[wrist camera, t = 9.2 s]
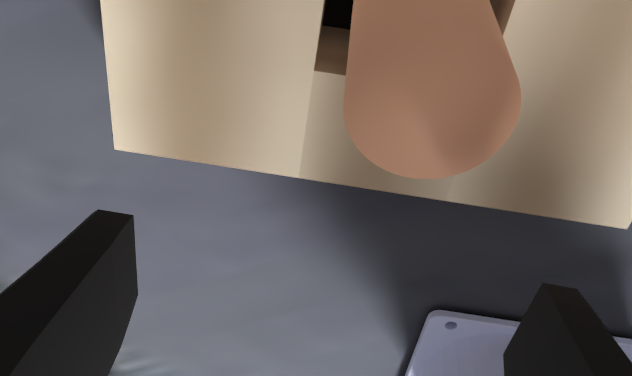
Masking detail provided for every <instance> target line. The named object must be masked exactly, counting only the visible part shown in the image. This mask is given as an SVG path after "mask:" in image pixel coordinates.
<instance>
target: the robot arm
mask: <svg viewBox="0 0 632 376" xmlns="http://www.w3.org/2000/svg"><path fill="white" fill-rule="evenodd" d="M137 296H138V287H137V270H136V253H135V235H134V218H133V215H129V214H123V213H117V212H110V211H104V210H97V211H95V212H94V213H92V214H91V215H90V216H89V217H88V218H87V219H86V220H84V221H83V222H82V223H81V224H80V225H79V226H78V227H77V228H76V229H75V230H73V231H72V232H71V233H70V234H69V235H68V236H67V237H66V238H65V239H64V240H62V241H61V242H60V243H59V244H58V245H57V246H56V247H55V248H53V249H52V250H51V251H50V252H49V253H48V254H47V255H45V256H44V257H43V258H42V259H41V260H40V261H39V262H37V263H36V264H35V265H34V266H33V267H32V268H30V269H29V270H28V271H27V272H26V273H24V274H23V275H22V276H21V277H20V278H18V279H17V280H16V281H15V282H14V283H12V284H11V285H10V286H9V287H8V288H6V289H5V290H4V291H3V292H2V293H0V376H108V374H109V372H110V369H111V367H112V365H113V363H114V361H115V359H116V356H117V354H118V352H119V350H120V347H121V345H122V342H123V339H124V336H125V333H126V330H127V327H128V324H129V321H130V318H131V315H132V312H133V308H134V305H135V302H136V299H137ZM405 376H632V339H628V338H621V337H615V336H612V335H611V334H610V333H609V331H608V330H607V328H606V327H605V326H604V324H603V323H602V322H601V320H600V319H599V318H598V316H597V315H596V314H595V312H594V311H593V310H592V308H591V307H590V306H589V304H588V303H587V302H586V300H585V299H584V298H583V296H582V295H581V294H580V293H579V291H578V290H577V289H574V288H568V287H562V286H556V285H550V284H544V283H542V285H541V287H540V288H539V290H538V292H537V294H536V296H535V297H534V299H533V301H532V303H531V305H530V306H529V308H528V310H527V312H526V314H525V315H524V317H523V319H522V321H521V322H517V321H510V320H504V319H497V318H491V317H484V316H478V315H471V314H465V313H458V312H451V311H445V310H435V311H432V312H431V313H429V314H428V316H427V318H426V321H425V324H424V326H423V329H422V332H421V334H420V337H419V339H418V342H417V345H416V347H415V350H414V353H413V355H412V358H411V360H410V363H409V366H408V368H407V371H406V373H405Z"/></svg>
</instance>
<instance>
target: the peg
mask: <svg viewBox="0 0 632 376" xmlns="http://www.w3.org/2000/svg"><path fill="white" fill-rule="evenodd" d="M520 107H521V88H520V84H519V79H518V77H517V74H516V71H515V68H514V66H513V63H512V60H511V58H510V55H509V52H508V50H507V47H506V44H505V41H504V39H503V36H502V33H501V31H500V28H499V25H498V22H497V20H496V17H495V14H494V12H493V9H492V6H491V3H490V1H489V0H353V9H352V20H351V30H350V40H349V50H348V60H347V70H346V81H345V91H344V102H343V113H344V121H345V125H346V129H347V131H348V133H349V136H350V138H351V140H352V141H353V143H354V144H355V146H356V147H357V148H358V150H359V151H360V152H361V153H362V154H363V155H364V156H365V157H366V158H367V159H368V160H370V161H371V162H372V163H374V164H375V165H376V166H378V167H380V168H382V169H384V170H386V171H388V172H391V173H393V174H396V175H400V176H403V177H408V178H414V179H438V178H445V177H450V176H454V175H458V174H460V173H463V172H466V171H468V170H470V169H472V168H474V167H476V166H478V165H480V164H481V163H483V162H485V161H486V160H487V159H489V158H490V157H491V156H492V155H494V154H495V153H496V152H497V151H498V150H499V149H500V148H501V147H502V146H503V144H504V143H505V142H506V141H507V139H508V138H509V136H510V135H511V133H512V131H513V129H514V127H515V125H516V122H517V120H518V116H519V113H520Z"/></svg>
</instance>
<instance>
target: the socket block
mask: <svg viewBox="0 0 632 376" xmlns="http://www.w3.org/2000/svg"><path fill="white" fill-rule="evenodd" d="M489 1H490V3H491V6H492V9H493V12H494V14H495V17H496V20H497V22H498V25H499V28H500V31H501V33H502V36H503V39H504V41H505V44H506V47H507V50H508V52H509V55H510V58H511V60H512V63H513V66H514V68H515V71H516V74H517V77H518V79H519V84H520V88H521V107H520V113H519V116H518V120H517V122H516V125H515V127H514V129H513V131H512V133H511V135H510V136H509V138H508V139H507V141H506V142H505V143H504V144H503V146H502V147H501V148H500V149H499V150H498V151H497V152H496V153H495V154H494V155H492V156H491V157H490V158H489V159H487V160H486V161H485V162H483V163H481V164H480V165H478V166H476V167H474V168H472V169H470V170H468V171H466V172H463V173H460V174H458V175H454V176H450V177H445V178H438V179H414V178H408V177H403V176H400V175H396V174H393V173H391V172H388V171H386V170H384V169H382V168H380V167H378V166H376V165H375V164H374V163H372V162H371V161H370V160H368V159H367V158H366V157H365V156H364V155H363V154H362V153H361V152H360V151H359V150H358V148H357V147H356V146H355V144H354V143H353V141H352V140H351V138H350V136H349V133H348V131H347V129H346V125H345V121H344V113H343V102H344V91H345V81H346V70H347V60H348V50H349V40H350V30H348V29H342V28H336V27H330V26H323V25H322V24H323V17H324V10H325V3H326V0H100V3H101V14H102V24H103V35H104V45H105V56H106V66H107V77H108V87H109V98H110V108H111V118H112V129H113V139H114V149H116V150H122V151H128V152H135V153H141V154H148V155H154V156H160V157H167V158H173V159H180V160H186V161H192V162H199V163H205V164H212V165H218V166H225V167H231V168H237V169H244V170H250V171H257V172H263V173H269V174H276V175H282V176H289V177H295V178H301V179H308V180H314V181H321V182H327V183H333V184H340V185H346V186H353V187H359V188H366V189H372V190H378V191H385V192H391V193H398V194H404V195H410V196H417V197H423V198H430V199H436V200H442V201H449V202H455V203H462V204H468V205H475V206H481V207H487V208H494V209H500V210H507V211H513V212H519V213H526V214H532V215H539V216H545V217H551V218H558V219H564V220H571V221H577V222H583V223H590V224H596V225H603V226H609V227H616V228H622V229H627V228H628V227H629V225H630V223H631V222H632V0H489Z"/></svg>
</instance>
